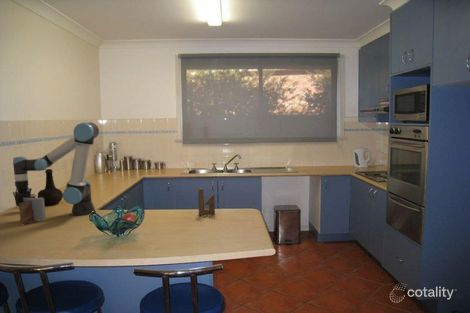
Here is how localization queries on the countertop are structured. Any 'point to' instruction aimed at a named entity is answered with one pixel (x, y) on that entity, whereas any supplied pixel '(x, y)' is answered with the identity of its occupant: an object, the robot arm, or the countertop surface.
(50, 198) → the dark brown vase
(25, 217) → the walnut board
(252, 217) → the countertop surface
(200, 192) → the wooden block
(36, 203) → the notched grey panel
